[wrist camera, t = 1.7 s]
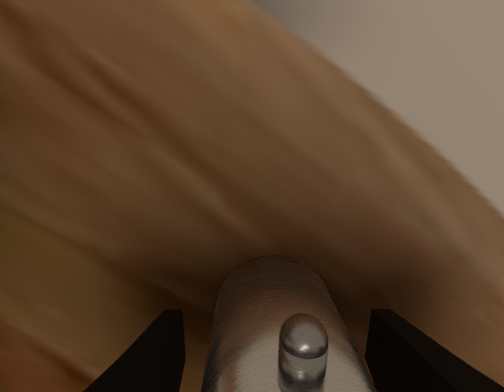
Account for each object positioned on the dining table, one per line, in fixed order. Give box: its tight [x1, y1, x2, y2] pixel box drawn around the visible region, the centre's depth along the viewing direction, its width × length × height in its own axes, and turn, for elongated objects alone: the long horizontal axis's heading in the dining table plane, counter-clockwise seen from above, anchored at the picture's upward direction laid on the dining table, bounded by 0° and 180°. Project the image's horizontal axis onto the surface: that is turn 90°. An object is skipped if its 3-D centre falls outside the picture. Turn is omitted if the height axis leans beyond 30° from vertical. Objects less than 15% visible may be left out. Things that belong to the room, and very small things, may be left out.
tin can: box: [201, 256, 377, 392], centre depth 8 cm, size 6×4×6 cm
